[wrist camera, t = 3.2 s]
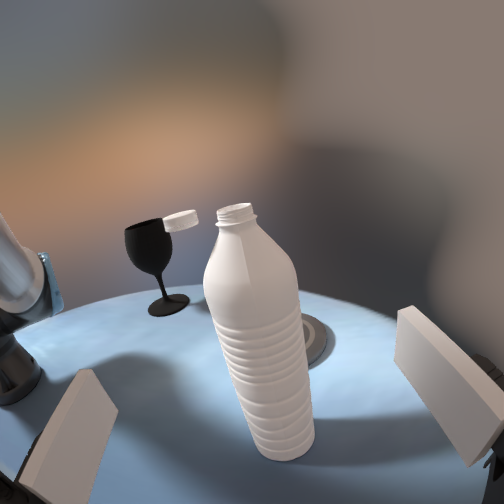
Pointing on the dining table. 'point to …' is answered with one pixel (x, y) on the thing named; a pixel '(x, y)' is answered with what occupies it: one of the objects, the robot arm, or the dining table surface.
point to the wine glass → (154, 261)
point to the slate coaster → (313, 337)
